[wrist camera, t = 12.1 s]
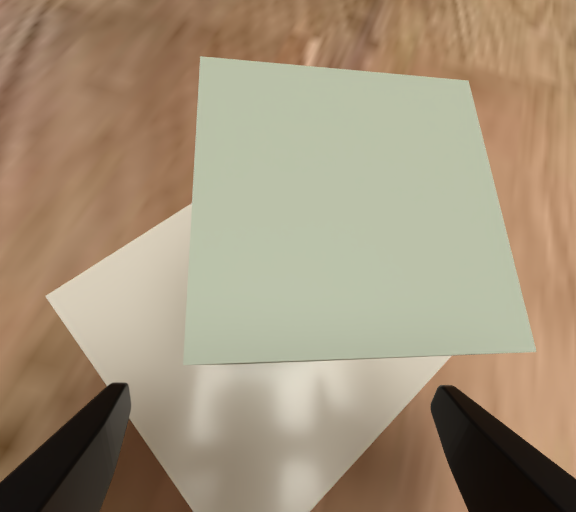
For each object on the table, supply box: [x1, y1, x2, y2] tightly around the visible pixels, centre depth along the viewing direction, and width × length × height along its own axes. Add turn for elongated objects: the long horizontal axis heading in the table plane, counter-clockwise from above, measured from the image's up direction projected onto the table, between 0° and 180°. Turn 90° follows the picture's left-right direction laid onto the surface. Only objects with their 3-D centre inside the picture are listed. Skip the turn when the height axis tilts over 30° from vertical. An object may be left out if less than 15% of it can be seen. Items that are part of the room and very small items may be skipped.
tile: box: [46, 204, 451, 512], centre depth 18 cm, size 16×16×1 cm
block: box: [183, 56, 536, 365], centre depth 11 cm, size 4×4×14 cm
